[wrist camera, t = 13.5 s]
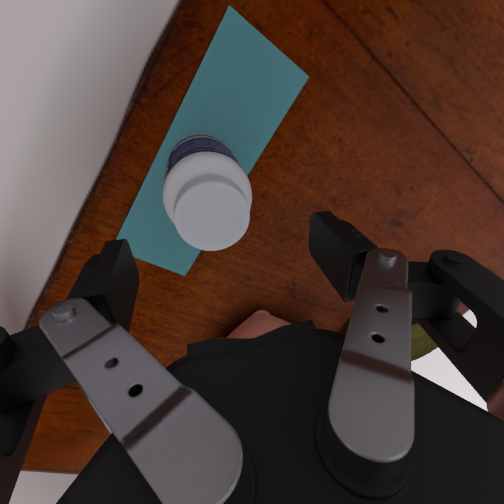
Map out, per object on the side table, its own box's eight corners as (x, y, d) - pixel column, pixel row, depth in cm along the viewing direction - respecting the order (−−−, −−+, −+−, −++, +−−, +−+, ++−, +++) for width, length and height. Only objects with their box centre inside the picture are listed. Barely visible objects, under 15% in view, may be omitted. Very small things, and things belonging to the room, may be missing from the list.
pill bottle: (153, 148, 21) (137, 191, 13) (220, 121, 21) (244, 148, 13) (185, 209, 24) (187, 275, 16) (243, 186, 24) (275, 240, 16)
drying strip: (228, 5, 18) (229, 4, 18) (307, 76, 21) (309, 76, 21) (112, 247, 25) (111, 248, 25) (184, 274, 28) (184, 276, 28)
